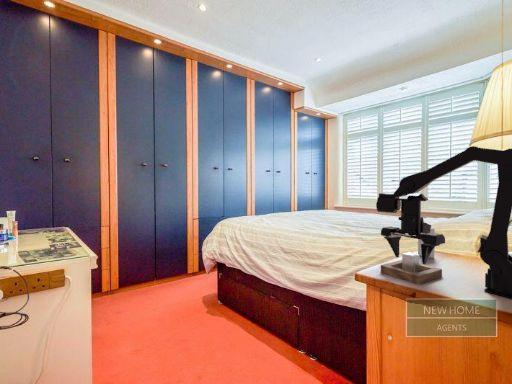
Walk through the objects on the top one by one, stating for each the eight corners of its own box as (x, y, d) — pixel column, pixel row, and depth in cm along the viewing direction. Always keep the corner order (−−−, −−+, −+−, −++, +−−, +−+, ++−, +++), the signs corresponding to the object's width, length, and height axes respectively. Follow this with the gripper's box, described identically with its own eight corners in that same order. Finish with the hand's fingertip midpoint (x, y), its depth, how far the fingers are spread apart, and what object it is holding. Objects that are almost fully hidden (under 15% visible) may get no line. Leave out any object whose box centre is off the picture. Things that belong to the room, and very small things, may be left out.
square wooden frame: (441, 276, 88) (442, 269, 88) (418, 284, 82) (418, 276, 82) (403, 266, 100) (403, 259, 100) (380, 272, 94) (380, 265, 94)
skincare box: (434, 258, 109) (435, 228, 109) (423, 257, 110) (423, 228, 110) (428, 254, 115) (428, 226, 115) (417, 253, 116) (417, 226, 116)
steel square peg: (419, 275, 90) (419, 254, 90) (412, 277, 89) (412, 256, 88) (408, 272, 93) (408, 252, 93) (402, 274, 92) (402, 253, 92)
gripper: (454, 215, 86) (454, 263, 87) (399, 210, 102) (399, 251, 103) (435, 217, 81) (434, 269, 81) (379, 212, 97) (379, 255, 98)
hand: (410, 260), depth 91 cm, fingers open, 9 cm apart
